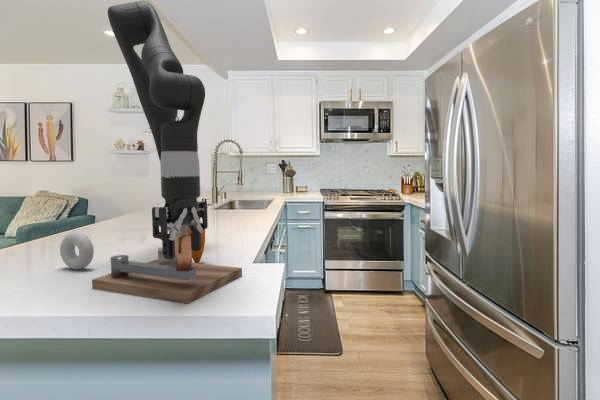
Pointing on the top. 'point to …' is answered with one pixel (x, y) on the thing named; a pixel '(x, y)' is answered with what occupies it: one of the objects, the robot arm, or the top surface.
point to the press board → (170, 282)
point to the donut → (70, 255)
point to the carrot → (198, 254)
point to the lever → (180, 271)
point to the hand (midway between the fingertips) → (183, 254)
